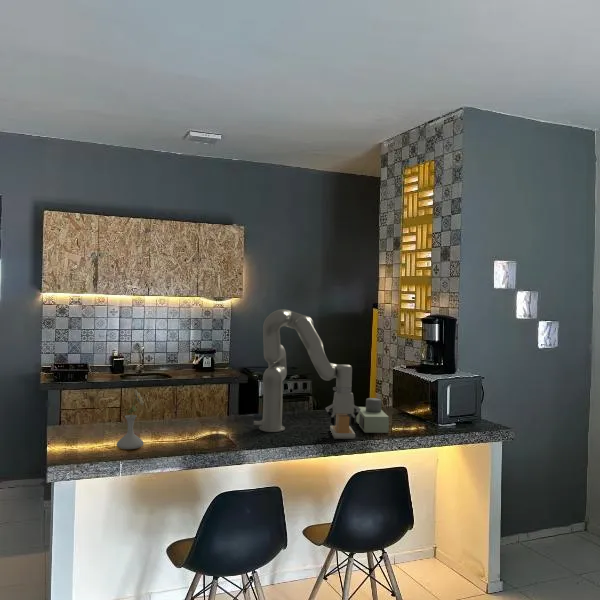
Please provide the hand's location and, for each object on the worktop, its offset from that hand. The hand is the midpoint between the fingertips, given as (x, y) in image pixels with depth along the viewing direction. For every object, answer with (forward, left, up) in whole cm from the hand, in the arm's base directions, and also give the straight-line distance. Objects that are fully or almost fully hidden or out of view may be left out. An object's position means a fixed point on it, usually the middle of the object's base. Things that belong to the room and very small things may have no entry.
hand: (342, 425), depth 295 cm
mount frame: (0, 0, -5) cm, 5 cm away
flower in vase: (-96, -27, -5) cm, 100 cm away
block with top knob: (+18, +17, -5) cm, 25 cm away
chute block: (0, 0, -4) cm, 4 cm away
